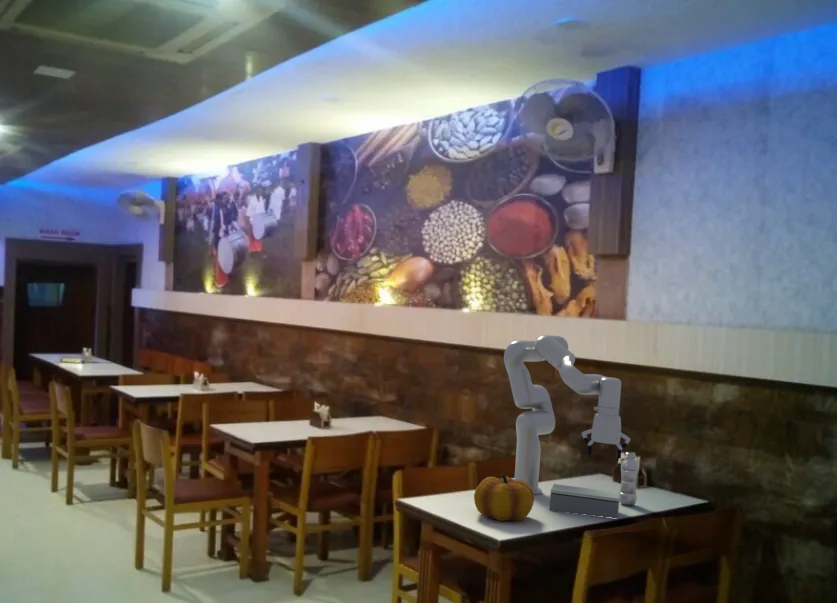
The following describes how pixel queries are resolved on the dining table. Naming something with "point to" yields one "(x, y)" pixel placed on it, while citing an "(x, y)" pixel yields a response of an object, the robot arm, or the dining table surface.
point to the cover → (585, 492)
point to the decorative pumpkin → (504, 498)
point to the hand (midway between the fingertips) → (604, 458)
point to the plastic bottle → (628, 480)
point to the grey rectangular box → (583, 505)
